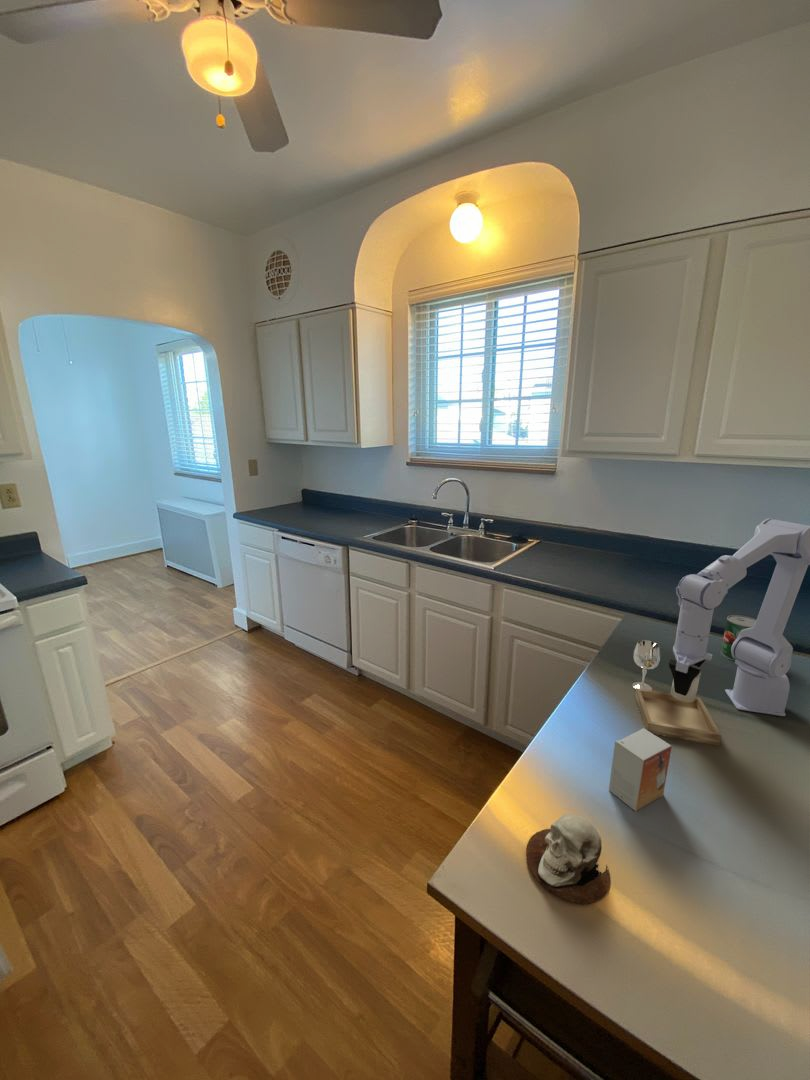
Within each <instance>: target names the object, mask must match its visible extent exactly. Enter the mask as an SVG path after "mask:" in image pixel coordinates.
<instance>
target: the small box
mask: <svg viewBox="0 0 810 1080" xmlns="http://www.w3.org/2000/svg"><path fill="white" fill-rule="evenodd" d="M672 747H673V746H672V745H671V744H670V743H668V742H667V741H665V740H663V739H662V738H660V737H659V736H658V735H654V734H652V733H651V732H649V731H647V730H646V729H645V727H642V728H641V729H639V730H637V731H636V732H633V733H631V734H629V735H627V736H625V737H623V738H620V739H618V740H615V741H614V747H613V748H614V749H613V755H612V762H611V772H610V777H609V778H610V779H609V786H608V791H610V792H611V793H612V794H613V795H615V796H616V797H618V799H620V800H621V801H622V802H623V803H625V804H626V805H627V806H629V807H630V808H631V809H632V810H633V811H635V812H637V811H639V810H640V809H642V808H644V807H645V806H646V805H648V804H650V803H652V802H654V801H655V800H657V799H659V798H660V797H663V796H664V794H665V793H664V792H665V786H666V780H667V776H668V770H669V764H670V758H671V753H672V749H673V748H672Z"/></svg>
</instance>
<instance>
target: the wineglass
mask: <svg viewBox="0 0 810 1080" xmlns="http://www.w3.org/2000/svg"><path fill="white" fill-rule="evenodd" d="M633 661H634V663H635V664H636V666H638V667H640V668H642V679H641V681H636V682H633V683H632V685H631V686H632V688H633V689H635V690H636V688H638V689H644V690H651V691H653V688H652V686H650V685H649V684H647V683H645V677H646V674H647V671H648V670H654V669H655V668H657V667H658V666H659V663H660V661H661V651H660V645H659V644H658V643H656V642H655V641H652V640H649V639H648V640H647V639H640V640H638V641H637V643H636V645H635V647H634V650H633Z"/></svg>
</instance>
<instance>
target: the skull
mask: <svg viewBox="0 0 810 1080" xmlns="http://www.w3.org/2000/svg"><path fill="white" fill-rule="evenodd" d="M525 854H526V860H527V863H528V866H529V869H530V871H531V873H532V874H533V875H534V877H535V878H536V879H537V881H538V882H539V883H540V884H541V885H542V886H543V887H544V888H545V889H546V890H548V891H549V892H550V893H552V894H553V895H555V896H557V897H560V898H562V899H564V900H566V901H569V902H572V903H573V902H574V903H576V904H577V903H579V904H583V905H584V904H591V903H594V904H595V902H597V901H600V900H602V898H604V897H605V896H606V895H607V893H608V891H609V890H610V887H611V873H610V869H609V866H608V864H606V865H605V870H604V871H603V872H602V871H600V870H598V869H599V866H600V864H599V863H598V861H599V859H600V857H601V854H602V838H601V835H600V833H599V832H598V830H597V828H596V827H595V826H594V825H593V823H592V822H590V821H589V820H588V819H585V818H584V817H582V816H580V815H577V814H575V813H573V814H572V813H566V814H564V815H562V816H561V817H560V818H558V819H557V820H556V821H555V822H553V823H552V824H551V825H550V828H545V829H542V830H539V831H537V832H535V833H534V834H533V835H532V836H531V837H530V838H529V840H528V842H527V844H526V850H525Z"/></svg>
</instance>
